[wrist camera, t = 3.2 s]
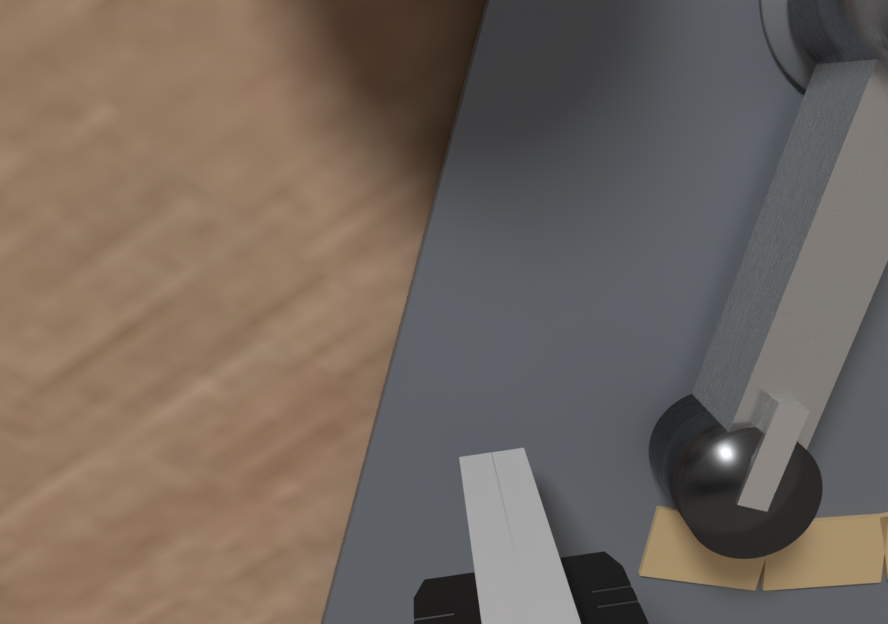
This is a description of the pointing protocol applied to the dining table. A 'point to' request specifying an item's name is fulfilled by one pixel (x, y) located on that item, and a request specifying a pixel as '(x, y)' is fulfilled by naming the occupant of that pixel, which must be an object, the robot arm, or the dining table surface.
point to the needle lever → (790, 302)
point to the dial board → (607, 314)
